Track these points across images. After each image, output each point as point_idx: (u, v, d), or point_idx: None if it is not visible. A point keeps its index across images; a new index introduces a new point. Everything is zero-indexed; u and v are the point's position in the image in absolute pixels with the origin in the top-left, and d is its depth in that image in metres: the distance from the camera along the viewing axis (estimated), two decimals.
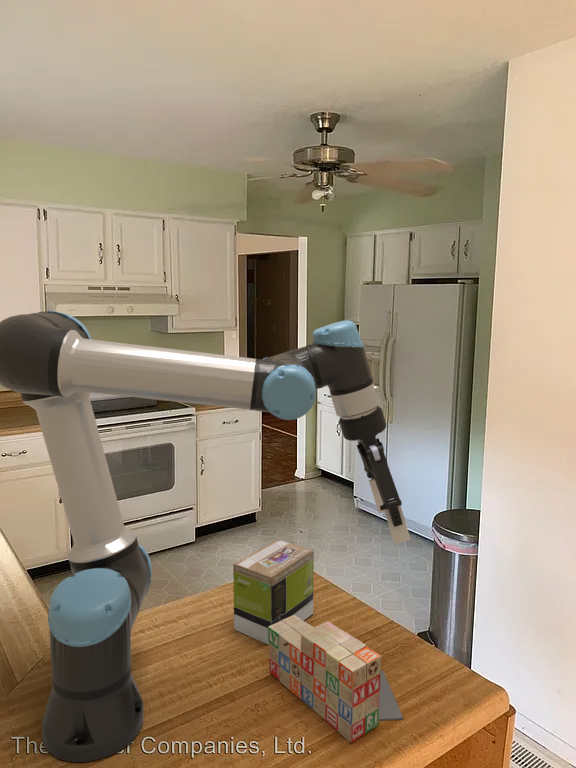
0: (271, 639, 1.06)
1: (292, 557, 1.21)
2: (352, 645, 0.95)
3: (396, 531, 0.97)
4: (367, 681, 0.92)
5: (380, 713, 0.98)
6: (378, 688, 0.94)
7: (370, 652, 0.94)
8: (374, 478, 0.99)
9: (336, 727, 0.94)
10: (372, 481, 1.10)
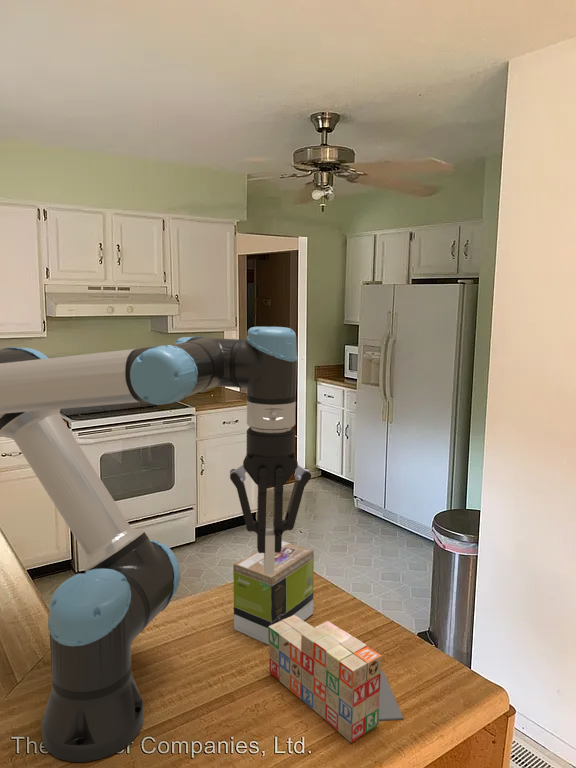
0: (271, 639, 1.06)
1: (292, 557, 1.21)
2: (352, 645, 0.95)
3: (264, 557, 0.97)
4: (367, 681, 0.92)
5: (380, 713, 0.98)
6: (378, 688, 0.94)
7: (371, 652, 0.94)
8: None
9: (336, 727, 0.94)
10: None
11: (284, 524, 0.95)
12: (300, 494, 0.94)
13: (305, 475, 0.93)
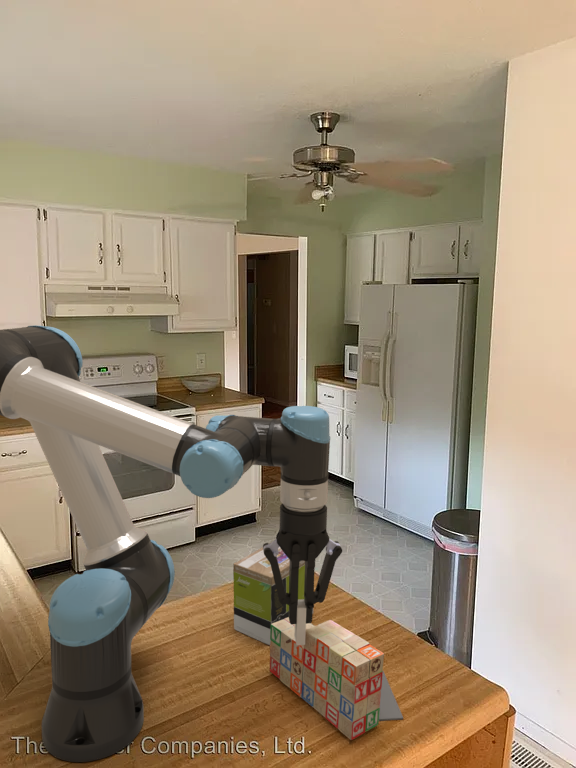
0: (272, 636, 1.06)
1: None
2: (355, 642, 0.96)
3: (295, 627, 0.99)
4: (369, 678, 0.92)
5: (380, 713, 0.98)
6: (380, 686, 0.94)
7: (373, 650, 0.94)
8: None
9: (336, 725, 0.94)
10: None
11: (315, 596, 0.97)
12: (331, 568, 0.96)
13: (336, 550, 0.96)
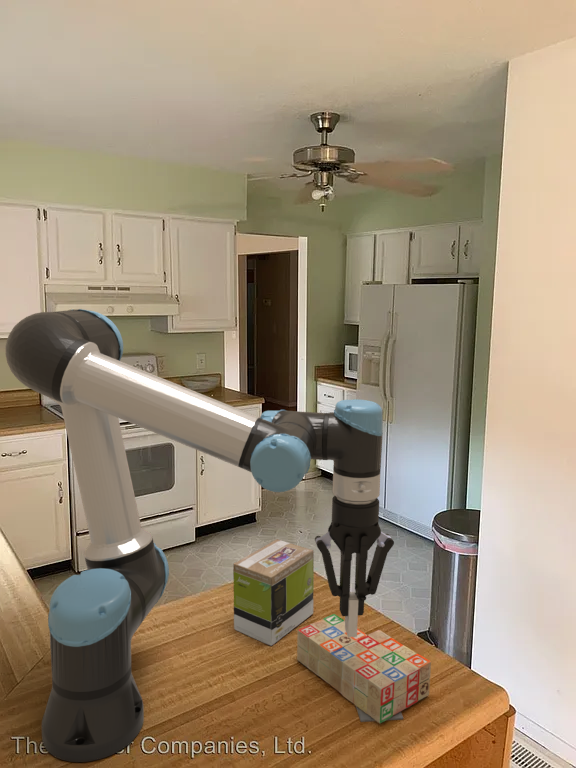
0: (328, 619, 1.14)
1: (292, 557, 1.21)
2: None
3: (346, 619, 1.00)
4: (418, 685, 1.00)
5: None
6: (407, 705, 0.99)
7: None
8: None
9: (368, 677, 0.97)
10: None
11: (367, 588, 0.98)
12: (383, 560, 0.97)
13: (388, 542, 0.97)
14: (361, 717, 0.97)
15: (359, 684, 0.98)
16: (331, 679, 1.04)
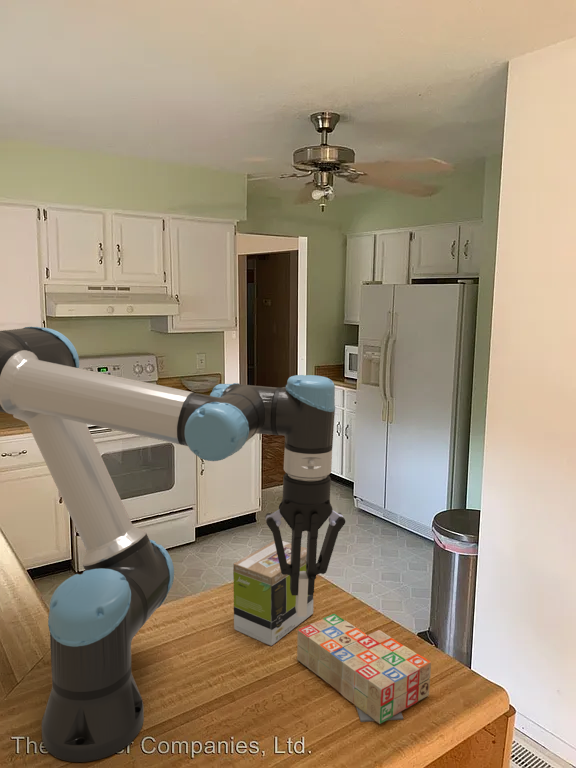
0: (328, 619, 1.14)
1: None
2: None
3: (296, 598, 0.99)
4: (418, 686, 1.00)
5: None
6: (407, 706, 0.99)
7: None
8: None
9: (368, 677, 0.97)
10: None
11: (317, 568, 0.97)
12: (334, 539, 0.96)
13: (339, 521, 0.95)
14: (361, 717, 0.97)
15: (359, 684, 0.98)
16: (331, 679, 1.04)
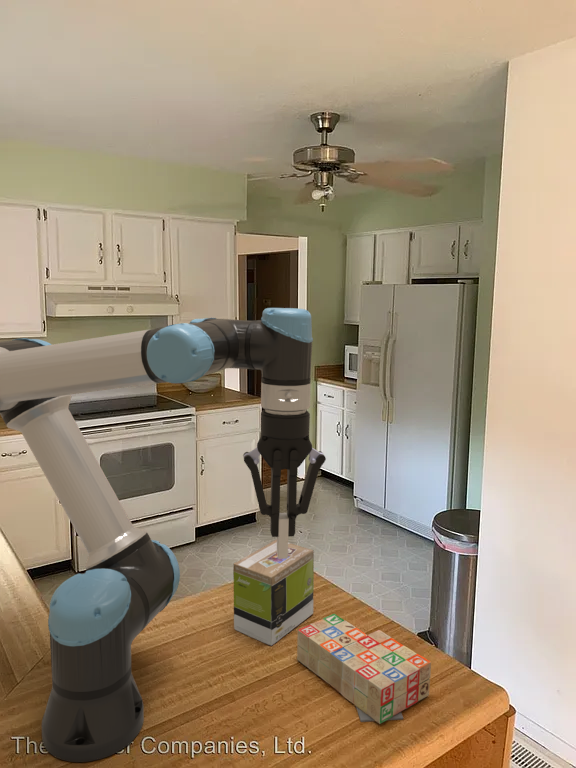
0: (328, 619, 1.14)
1: (292, 557, 1.21)
2: None
3: (277, 541, 0.96)
4: (418, 686, 1.00)
5: None
6: (407, 706, 0.99)
7: None
8: None
9: (368, 677, 0.97)
10: None
11: (298, 508, 0.94)
12: (314, 477, 0.93)
13: (319, 458, 0.92)
14: (361, 717, 0.97)
15: (359, 684, 0.98)
16: (331, 679, 1.04)
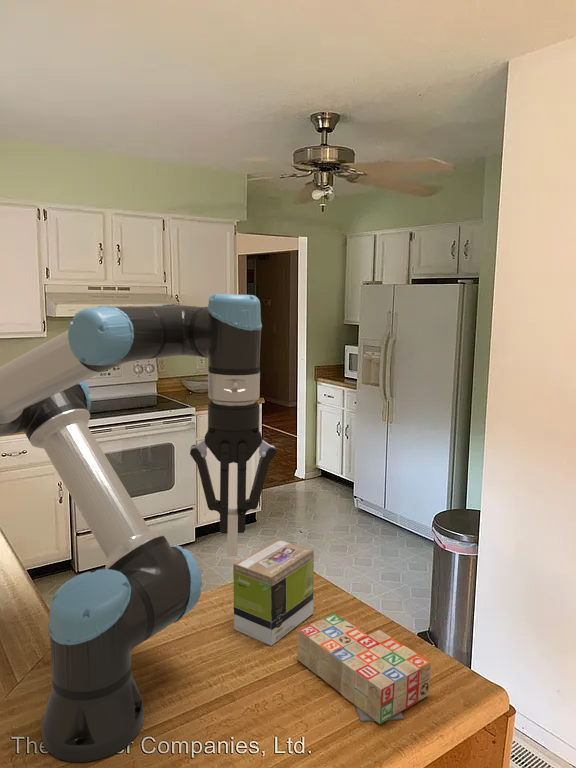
0: (328, 619, 1.14)
1: (292, 557, 1.21)
2: None
3: None
4: (418, 686, 1.00)
5: None
6: (407, 706, 0.99)
7: None
8: None
9: (368, 677, 0.97)
10: None
11: (248, 503, 0.90)
12: (264, 471, 0.89)
13: (270, 451, 0.89)
14: (361, 717, 0.97)
15: (359, 684, 0.98)
16: (331, 679, 1.04)
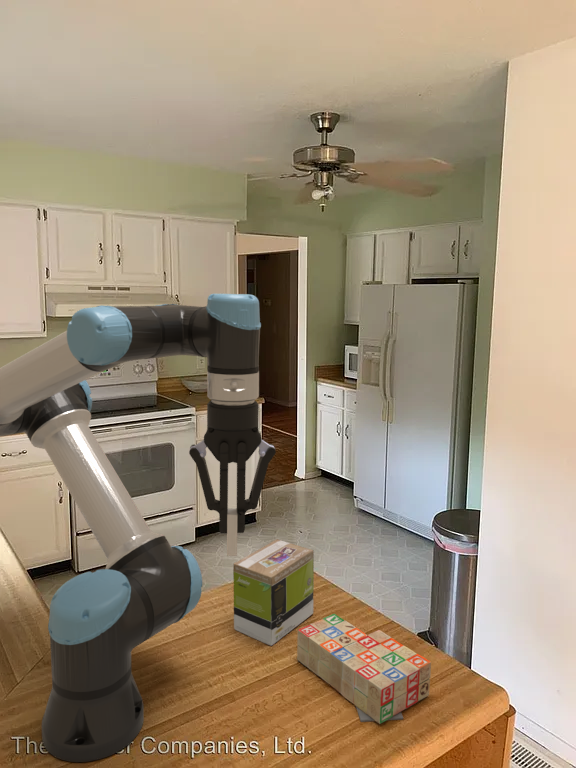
0: (328, 619, 1.14)
1: (292, 557, 1.21)
2: None
3: None
4: (418, 686, 1.00)
5: None
6: (407, 706, 0.99)
7: None
8: None
9: (368, 677, 0.97)
10: None
11: (247, 503, 0.90)
12: (264, 471, 0.89)
13: (269, 451, 0.88)
14: (361, 717, 0.97)
15: (359, 684, 0.98)
16: (331, 679, 1.04)
